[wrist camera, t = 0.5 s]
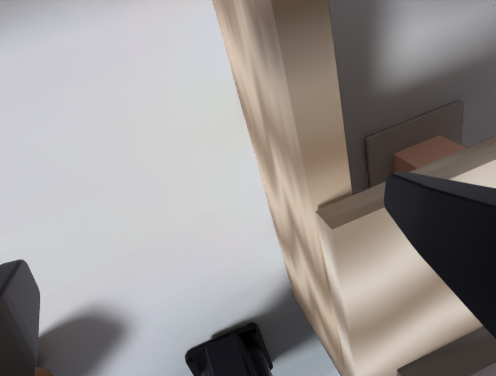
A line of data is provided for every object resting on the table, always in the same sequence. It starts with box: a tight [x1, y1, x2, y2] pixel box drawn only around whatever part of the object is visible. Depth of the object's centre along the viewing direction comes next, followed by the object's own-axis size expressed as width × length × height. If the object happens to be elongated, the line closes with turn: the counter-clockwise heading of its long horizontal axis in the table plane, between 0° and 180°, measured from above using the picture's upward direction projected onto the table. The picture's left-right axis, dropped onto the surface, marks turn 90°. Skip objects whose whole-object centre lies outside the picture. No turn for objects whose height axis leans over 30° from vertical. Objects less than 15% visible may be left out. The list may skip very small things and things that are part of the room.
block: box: [393, 135, 467, 173], centre depth 26 cm, size 4×4×7 cm
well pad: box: [365, 100, 463, 188], centre depth 29 cm, size 8×8×1 cm
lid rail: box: [213, 0, 352, 376], centre depth 19 cm, size 34×2×9 cm, turn 15°
